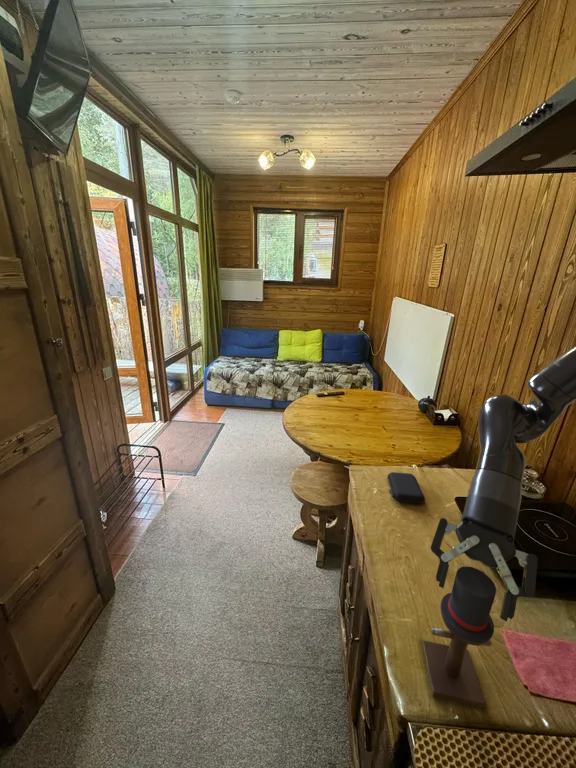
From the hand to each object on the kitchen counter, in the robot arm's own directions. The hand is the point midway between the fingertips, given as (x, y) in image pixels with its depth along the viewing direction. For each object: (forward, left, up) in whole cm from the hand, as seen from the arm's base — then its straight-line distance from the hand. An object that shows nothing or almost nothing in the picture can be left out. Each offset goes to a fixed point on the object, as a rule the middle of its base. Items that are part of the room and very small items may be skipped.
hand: (470, 602), depth 48 cm
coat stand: (0, -1, -19) cm, 19 cm away
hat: (0, -1, -5) cm, 5 cm away
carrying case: (+18, -50, -19) cm, 57 cm away
